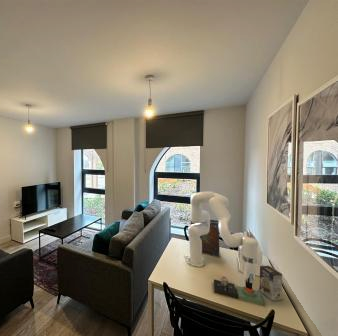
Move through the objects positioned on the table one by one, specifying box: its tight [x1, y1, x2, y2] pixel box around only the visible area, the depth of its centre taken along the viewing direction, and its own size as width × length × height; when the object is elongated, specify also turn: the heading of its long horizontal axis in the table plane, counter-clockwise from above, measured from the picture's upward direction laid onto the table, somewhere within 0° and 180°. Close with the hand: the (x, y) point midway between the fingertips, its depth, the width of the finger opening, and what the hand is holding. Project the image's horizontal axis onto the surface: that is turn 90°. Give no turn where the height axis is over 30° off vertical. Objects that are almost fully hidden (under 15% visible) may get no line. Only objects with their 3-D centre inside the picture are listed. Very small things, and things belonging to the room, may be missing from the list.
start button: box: [244, 286, 254, 293], centre depth 114 cm, size 4×4×2 cm
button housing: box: [235, 285, 265, 306], centre depth 115 cm, size 12×10×4 cm
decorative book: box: [189, 218, 221, 258], centre depth 168 cm, size 23×7×30 cm, turn 62°
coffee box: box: [259, 265, 283, 301], centre depth 115 cm, size 9×6×16 cm
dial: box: [220, 275, 229, 288], centre depth 120 cm, size 4×4×5 cm
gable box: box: [237, 227, 263, 277], centre depth 145 cm, size 22×13×28 cm, turn 149°
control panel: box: [213, 279, 238, 299], centre depth 120 cm, size 12×10×3 cm
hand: (248, 287), depth 115 cm, fingers closed
